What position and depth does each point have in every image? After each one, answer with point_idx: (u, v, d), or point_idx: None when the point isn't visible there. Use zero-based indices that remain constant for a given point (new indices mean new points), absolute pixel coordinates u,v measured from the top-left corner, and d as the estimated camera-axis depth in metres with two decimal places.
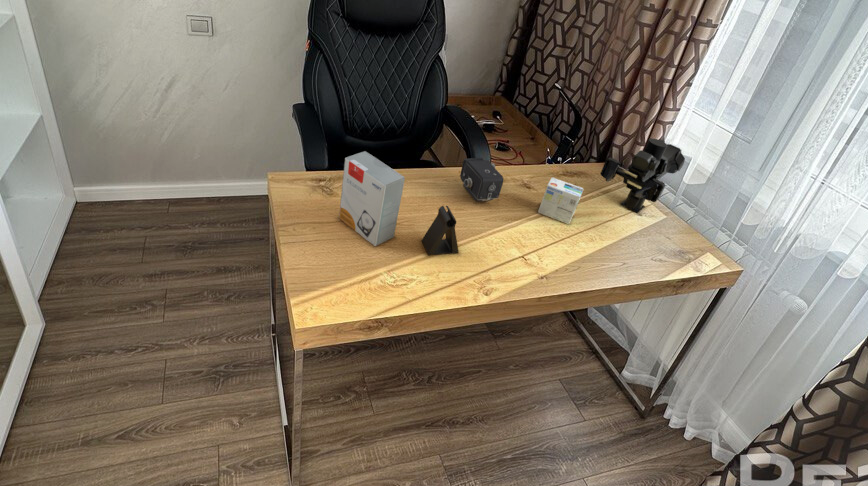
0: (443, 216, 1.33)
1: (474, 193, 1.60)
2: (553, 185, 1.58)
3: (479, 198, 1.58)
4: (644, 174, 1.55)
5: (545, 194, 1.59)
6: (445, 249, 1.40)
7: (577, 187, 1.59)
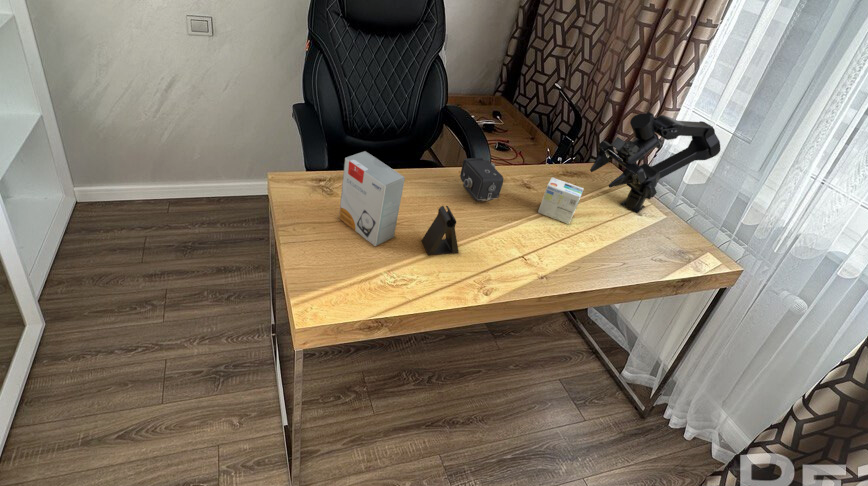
0: (443, 216, 1.33)
1: (474, 193, 1.60)
2: (553, 185, 1.58)
3: (479, 198, 1.58)
4: (627, 158, 1.57)
5: (545, 194, 1.59)
6: (445, 249, 1.40)
7: (577, 187, 1.59)
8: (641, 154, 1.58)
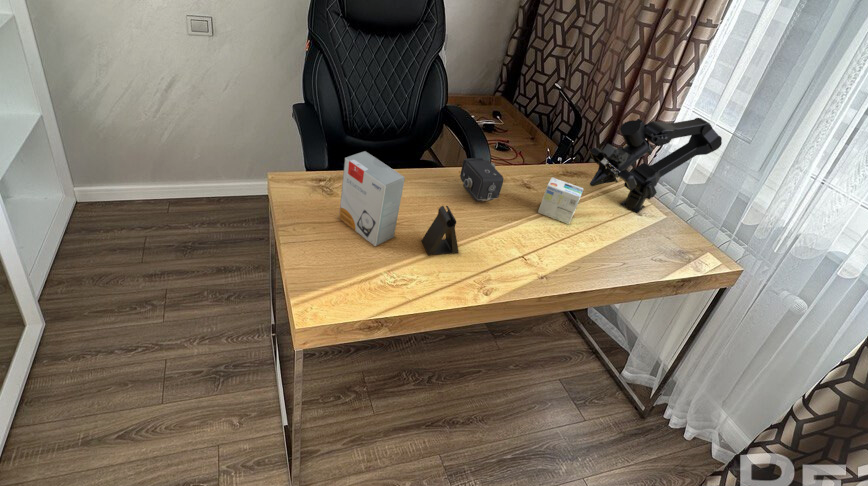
0: (443, 216, 1.33)
1: (474, 193, 1.60)
2: (553, 185, 1.58)
3: (479, 198, 1.58)
4: (617, 165, 1.58)
5: (545, 194, 1.59)
6: (445, 249, 1.40)
7: (577, 187, 1.59)
8: (632, 160, 1.59)
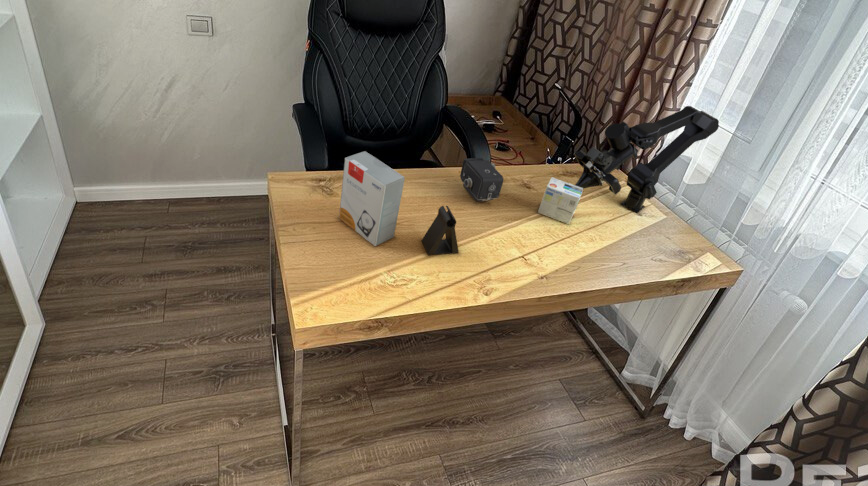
0: (443, 216, 1.33)
1: (474, 193, 1.60)
2: (552, 186, 1.57)
3: (479, 198, 1.58)
4: (602, 168, 1.56)
5: (545, 195, 1.59)
6: (445, 249, 1.40)
7: (577, 187, 1.59)
8: (616, 164, 1.57)
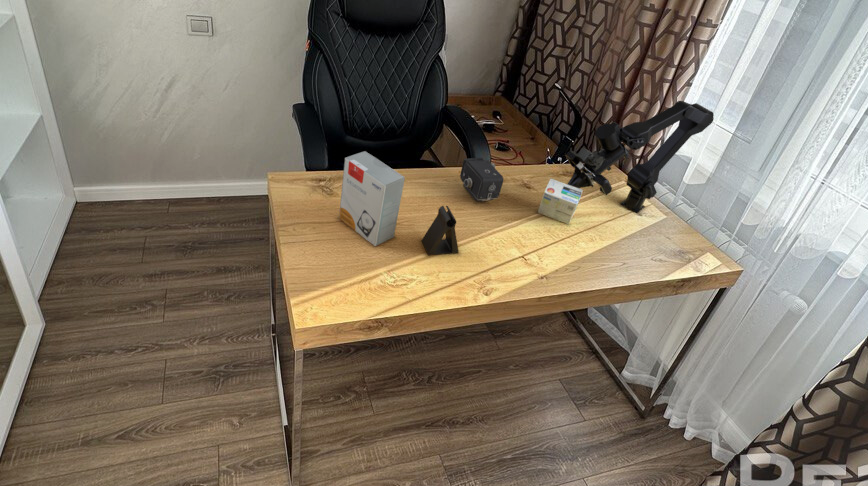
0: (443, 216, 1.33)
1: (474, 193, 1.60)
2: (550, 191, 1.55)
3: (479, 198, 1.58)
4: (593, 169, 1.55)
5: (543, 199, 1.58)
6: (445, 249, 1.40)
7: (576, 189, 1.56)
8: (607, 165, 1.56)
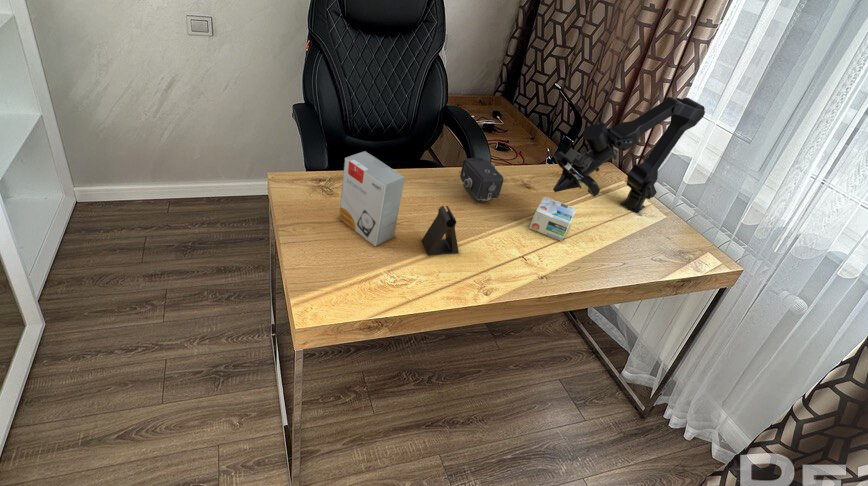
0: (443, 216, 1.33)
1: (474, 193, 1.60)
2: (535, 228, 1.54)
3: (479, 198, 1.58)
4: (580, 170, 1.53)
5: None
6: (445, 249, 1.40)
7: (562, 224, 1.50)
8: (595, 166, 1.54)
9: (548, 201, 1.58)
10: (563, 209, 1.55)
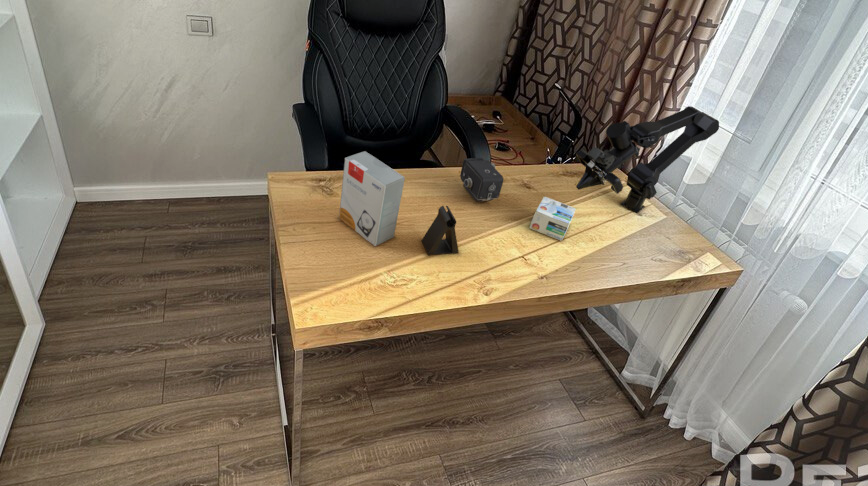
0: (443, 216, 1.33)
1: (474, 193, 1.60)
2: (535, 228, 1.54)
3: (479, 198, 1.58)
4: (604, 168, 1.56)
5: None
6: (445, 249, 1.40)
7: (562, 224, 1.50)
8: (618, 163, 1.57)
9: (548, 201, 1.58)
10: (563, 209, 1.55)
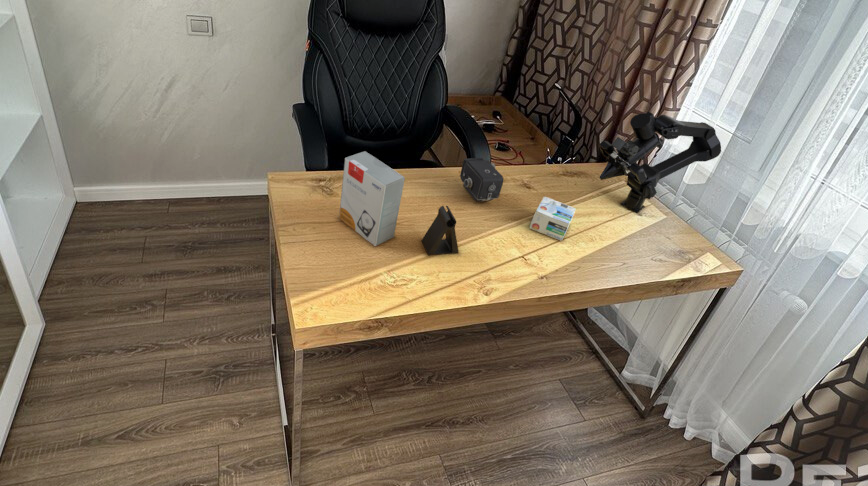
0: (443, 216, 1.33)
1: (474, 193, 1.60)
2: (535, 228, 1.54)
3: (479, 198, 1.58)
4: (627, 158, 1.58)
5: None
6: (445, 249, 1.40)
7: (562, 224, 1.50)
8: (642, 154, 1.59)
9: (548, 201, 1.58)
10: (563, 209, 1.55)
